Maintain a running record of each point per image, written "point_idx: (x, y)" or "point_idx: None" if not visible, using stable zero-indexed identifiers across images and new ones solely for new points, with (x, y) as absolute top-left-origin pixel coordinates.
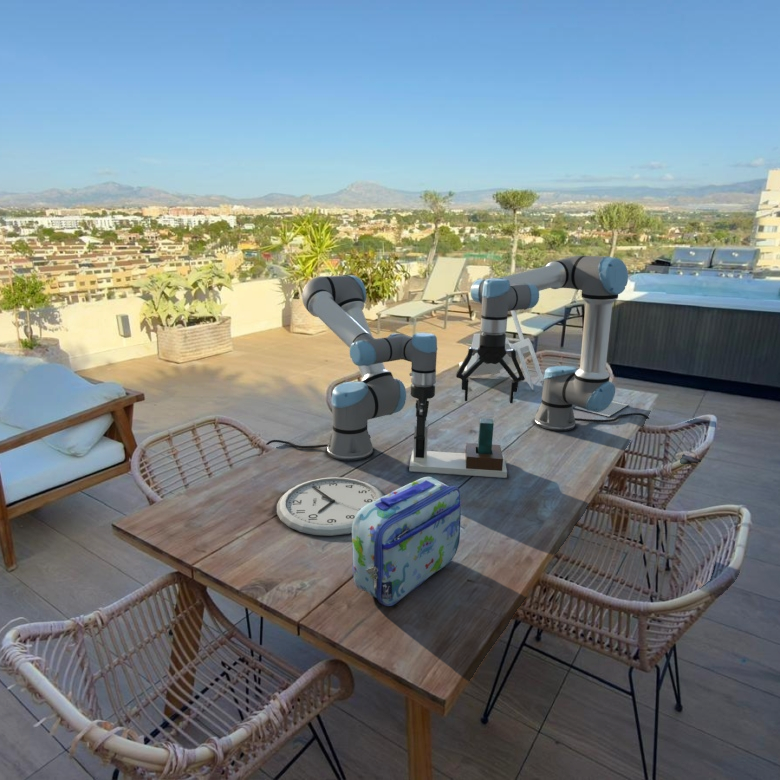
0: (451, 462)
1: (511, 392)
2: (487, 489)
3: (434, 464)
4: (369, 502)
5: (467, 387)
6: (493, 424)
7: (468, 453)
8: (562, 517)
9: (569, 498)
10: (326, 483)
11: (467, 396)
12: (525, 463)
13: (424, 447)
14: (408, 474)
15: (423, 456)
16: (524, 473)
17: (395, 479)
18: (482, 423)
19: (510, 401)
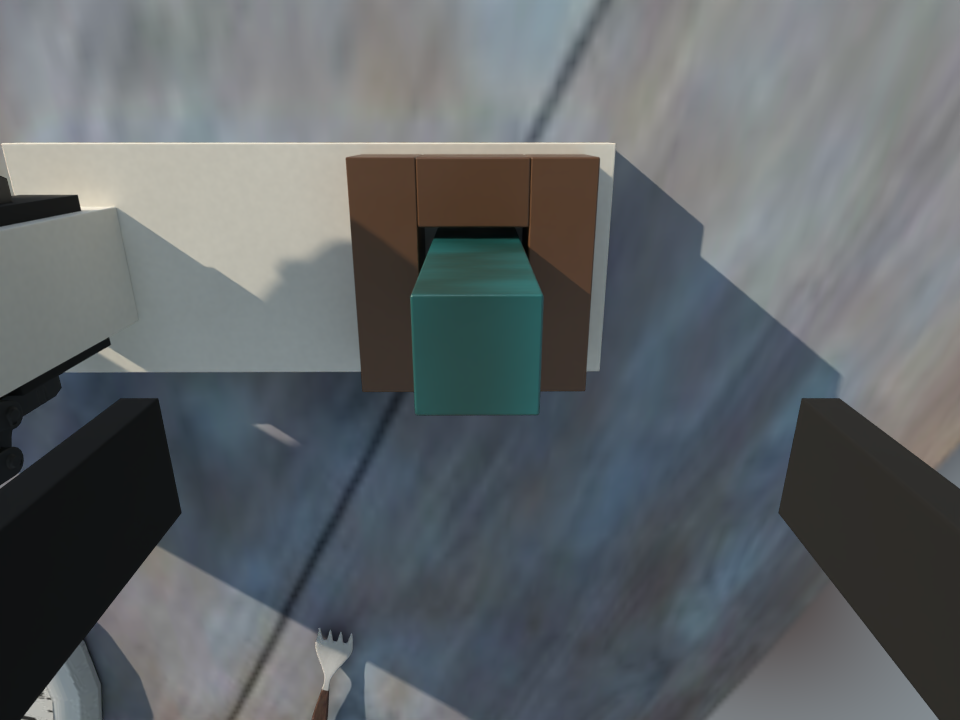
0: (286, 298)
1: (883, 633)
2: (485, 481)
3: (193, 339)
4: None
5: (34, 688)
6: (537, 411)
7: (370, 344)
8: (752, 636)
9: None
10: None
11: (144, 558)
12: (742, 150)
13: (68, 360)
14: (88, 393)
15: (101, 348)
16: (700, 290)
17: (44, 451)
18: (434, 413)
19: (794, 530)
